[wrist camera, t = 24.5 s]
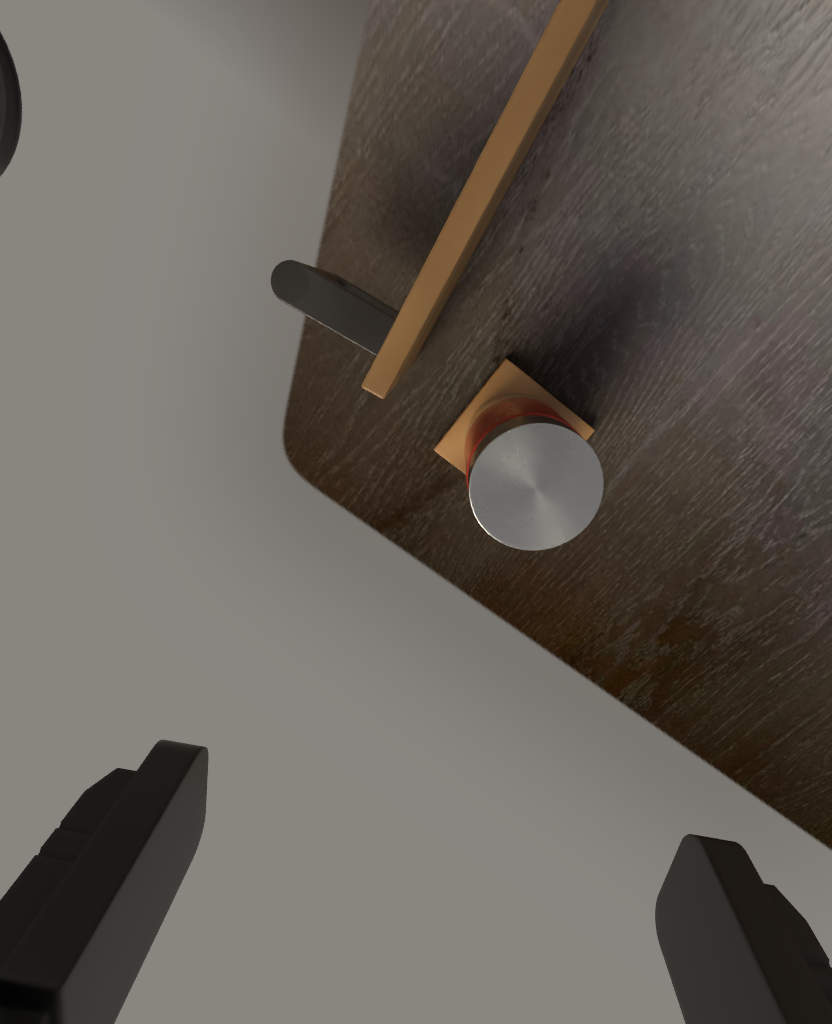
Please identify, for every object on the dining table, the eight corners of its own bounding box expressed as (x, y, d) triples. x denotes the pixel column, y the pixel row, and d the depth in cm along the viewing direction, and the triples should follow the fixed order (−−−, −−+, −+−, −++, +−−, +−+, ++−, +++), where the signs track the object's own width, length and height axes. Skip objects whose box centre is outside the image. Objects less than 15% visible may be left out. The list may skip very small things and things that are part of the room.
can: (443, 435, 35) (440, 480, 26) (523, 370, 34) (550, 392, 24) (504, 508, 36) (522, 576, 27) (584, 448, 35) (632, 498, 25)
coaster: (433, 448, 36) (433, 450, 35) (505, 357, 34) (506, 357, 33) (518, 512, 37) (519, 516, 37) (593, 428, 35) (595, 430, 34)
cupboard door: (322, 309, 34) (218, 306, 19) (526, -126, 27) (617, -675, 12) (413, 363, 34) (383, 400, 19) (636, -48, 27) (852, -476, 13)
